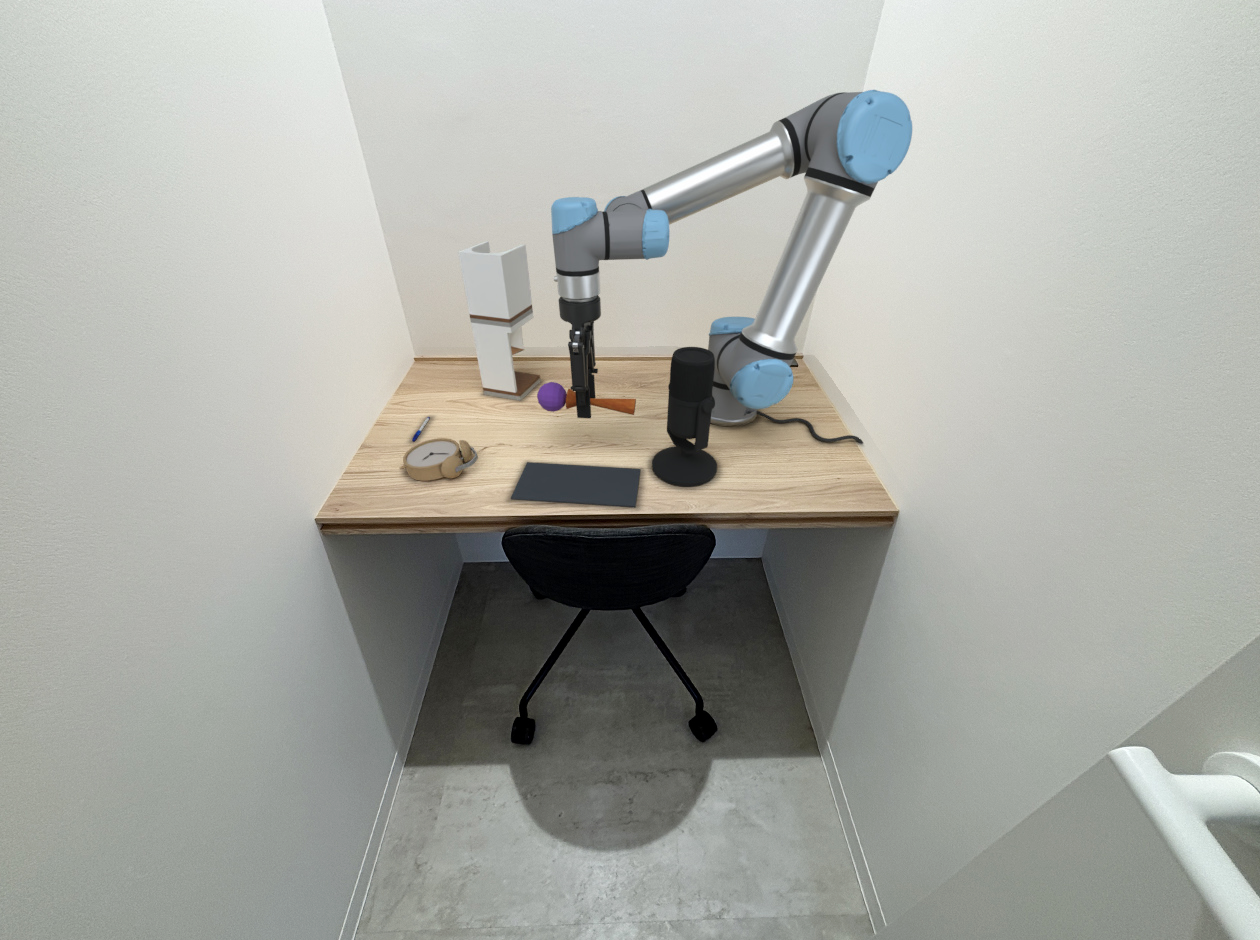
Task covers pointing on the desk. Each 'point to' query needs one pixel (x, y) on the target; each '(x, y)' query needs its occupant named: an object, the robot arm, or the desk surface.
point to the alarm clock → (438, 459)
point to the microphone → (688, 420)
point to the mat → (578, 484)
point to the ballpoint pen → (420, 429)
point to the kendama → (556, 398)
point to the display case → (498, 315)
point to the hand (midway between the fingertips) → (586, 410)
